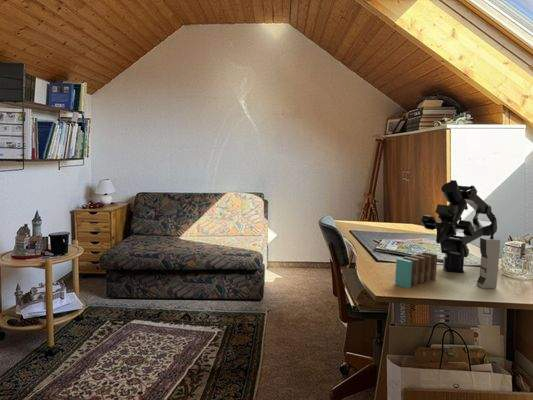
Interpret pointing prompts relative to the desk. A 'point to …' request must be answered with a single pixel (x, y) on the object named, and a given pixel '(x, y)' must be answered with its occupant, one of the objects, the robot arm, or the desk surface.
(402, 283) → the domino
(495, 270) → the vintage mobile phone
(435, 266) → the domino
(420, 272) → the domino
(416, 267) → the domino
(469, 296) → the desk surface
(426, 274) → the domino
